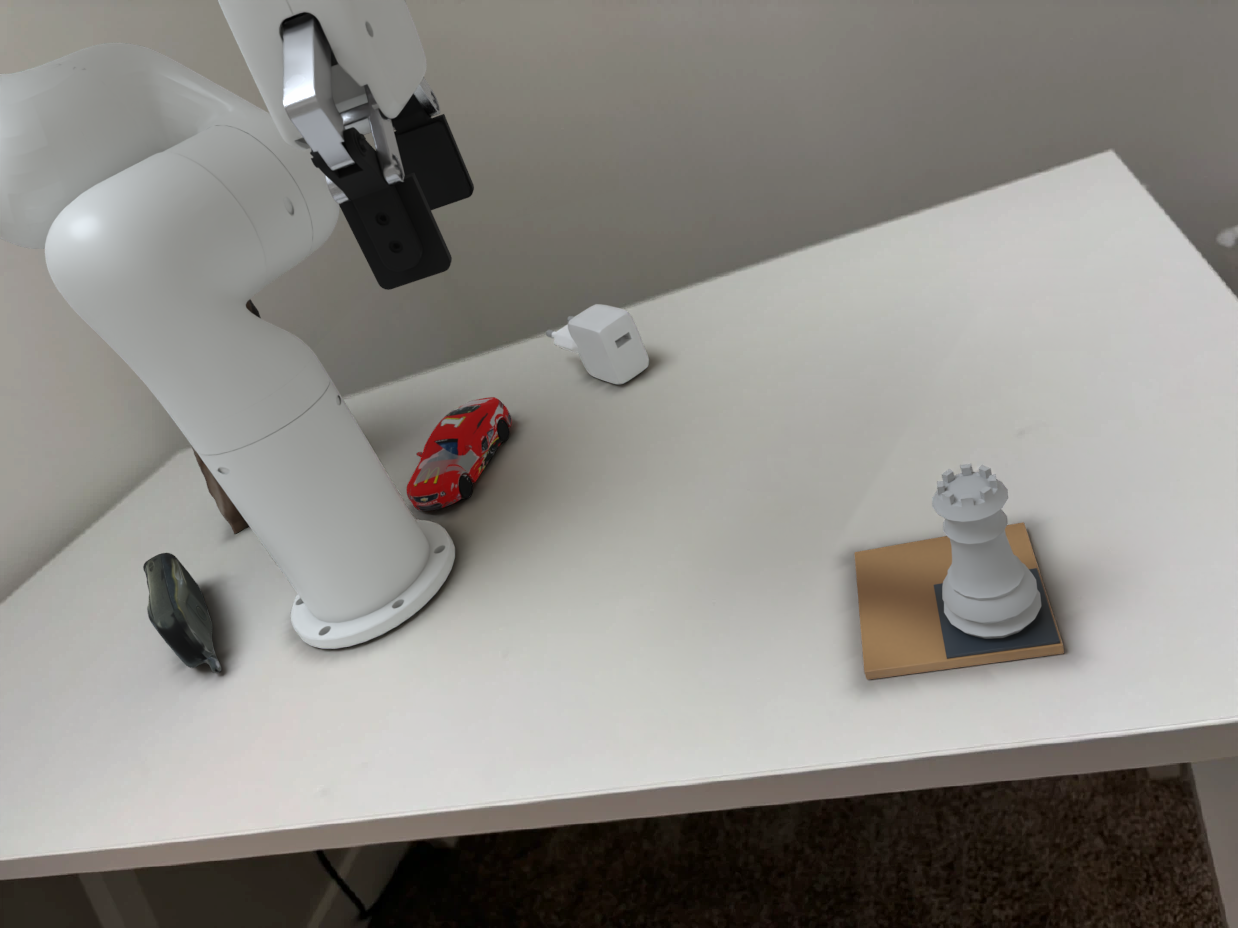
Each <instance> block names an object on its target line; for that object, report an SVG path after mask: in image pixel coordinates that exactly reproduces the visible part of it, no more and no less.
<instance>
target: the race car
mask: <svg viewBox="0 0 1238 928" xmlns="http://www.w3.org/2000/svg"><path fill="white" fill-rule="evenodd" d="M512 424H513V419H512V415H511V412H509V409H508V407H507V405H505V404H504V402H503V401H501V399H499V398H498V397H495V396H489V397H483V398H477V399H473V400H469V401H467V402H465V403H463V404H462V405H460V406H458V407H457V408H455V409H452V410H451V411H449V412H448V413H447V414H445V416H444V417H443V418H441V420H440V421H439V422H438V423H437V425H436V426H435V427H434V429H433V430H432V432H431V434H429V437H428V438H427V440H426V442H425V444H424V447H423V450H422V451H418V452H416V456H417V457H419V461H418V463H417V466H416V468H415V470H414V471H413V473H412V475H411V476H410V479H409V481H408V482H407V484H406V496H407V498H408V500H409V502H410V503H411V504H412V506H413V507H414V508H415V509H416V510H418V511H423V512H430V511H435V510H440V509H443V508H445V507H449V506H451V505H454V504H455V503H457V502H459V501H460V500H464V499H469V498H470V497H471V496H472V495H473V491H474V485H473V483H476V482H477V480H478V479H479V478H480V476H481V474H482V473H483V471H484V470H485V468H486V466H487V465H488V464H489V463H490V461H491V459H492V457H493V456H494V455H495V452H497V450H498V448H499V447H500V446H501V444H502V442H506V441H508V439H509V437H510V428H511V427H512Z"/></svg>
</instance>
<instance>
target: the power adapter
mask: <svg viewBox="0 0 1238 928" xmlns="http://www.w3.org/2000/svg"><path fill="white" fill-rule="evenodd" d="M566 320H567V324H566V325H564V326H563V327H561V328H560V329H558V330H553V329H547V330H546V331H545V335H546V336H547V337H548V338H551V339H553V344H554V346H556V347H558V348H560V349H562V350H565V351H568V352H571V353H574V354H578V356H579V359H580V360H581V361H580V362H581V363H582V365H583V367H584V369H585V370H586V372H587V373H588V374H589V375H590V376H592V377H594V378H596V379H599V380H602V381H605V382H607V383H610V384H613V385H623V384H626V383H627V382H629V381H630V380H632V379H634V378H635V377H636V376H638V375H639V374H640V373H642V372H643V371H644V370H646V369H647V368H648V367H649V364H650V358H649V355H648V352H647V349H646V346H645V344H644V342H643V339H642V336H641V333H640V331H639V329H638V326H637V323H636V321H635V320H634V317H633V315H631V314H630V312H629V311H628V310H627V309H624V308H620V307H617V306H612V305H609V304H608V305H607V304H602V303H595V304H593V305H591V306H588V308H586V309H584V310H582V311H581V312H579V313H578V314H576V315H574V316H573V315H569V316H568V317H567V318H566Z"/></svg>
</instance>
